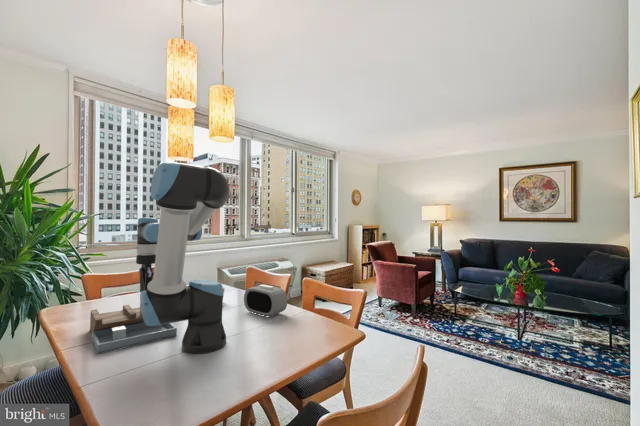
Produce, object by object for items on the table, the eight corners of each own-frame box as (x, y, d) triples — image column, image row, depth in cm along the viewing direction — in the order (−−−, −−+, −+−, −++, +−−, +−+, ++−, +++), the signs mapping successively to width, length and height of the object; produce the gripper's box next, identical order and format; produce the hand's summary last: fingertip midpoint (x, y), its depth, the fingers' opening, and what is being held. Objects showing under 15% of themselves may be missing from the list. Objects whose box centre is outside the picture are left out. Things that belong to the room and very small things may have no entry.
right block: (153, 313, 125) (153, 303, 125) (142, 315, 122) (142, 305, 122) (150, 311, 128) (150, 301, 128) (139, 313, 125) (140, 303, 125)
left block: (123, 336, 115) (125, 339, 112) (110, 338, 112) (112, 342, 109) (124, 325, 115) (126, 328, 112) (111, 327, 112) (113, 331, 109)
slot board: (165, 327, 126) (166, 308, 126) (94, 342, 110) (95, 320, 110) (155, 318, 137) (156, 300, 137) (89, 330, 121) (90, 310, 121)
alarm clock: (242, 311, 150) (243, 284, 150) (256, 307, 158) (257, 281, 158) (273, 320, 139) (274, 291, 139) (287, 315, 147) (287, 287, 147)
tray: (176, 335, 118) (176, 328, 118) (97, 353, 101) (97, 344, 101) (164, 324, 129) (164, 317, 129) (91, 339, 112) (92, 331, 112)
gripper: (133, 253, 130) (131, 308, 129) (140, 256, 120) (138, 315, 120) (152, 252, 135) (150, 305, 134) (160, 255, 125) (158, 312, 125)
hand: (144, 310), depth 127 cm, fingers closed
